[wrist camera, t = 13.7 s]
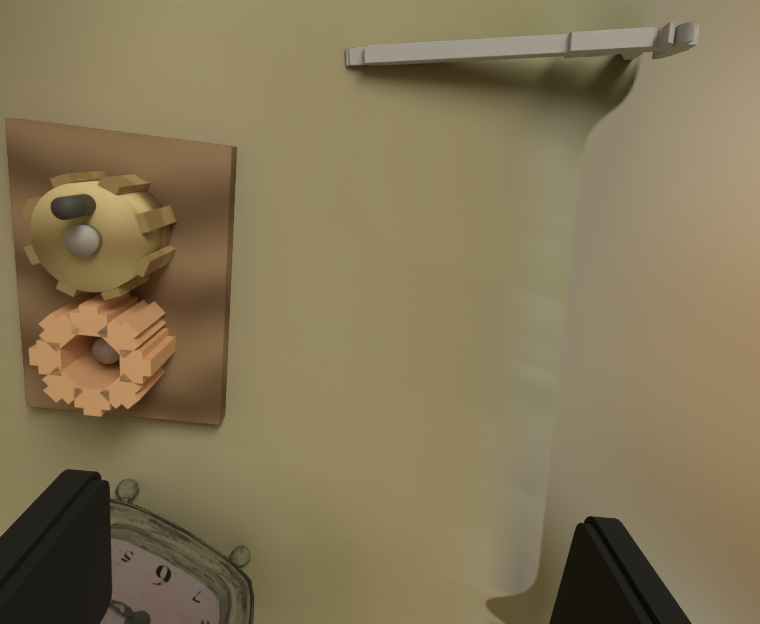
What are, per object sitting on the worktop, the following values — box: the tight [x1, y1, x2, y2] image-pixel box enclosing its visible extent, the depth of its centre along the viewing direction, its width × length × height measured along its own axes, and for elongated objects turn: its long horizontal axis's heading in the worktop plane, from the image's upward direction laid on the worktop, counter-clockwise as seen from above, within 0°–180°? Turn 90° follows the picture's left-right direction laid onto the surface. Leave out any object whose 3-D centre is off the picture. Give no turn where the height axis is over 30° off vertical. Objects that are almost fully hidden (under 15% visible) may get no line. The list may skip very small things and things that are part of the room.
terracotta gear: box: [29, 292, 176, 416], centre depth 35 cm, size 7×7×4 cm
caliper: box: [346, 21, 700, 66], centre depth 31 cm, size 20×1×6 cm, turn 92°
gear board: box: [5, 118, 237, 425], centre depth 33 cm, size 20×14×8 cm
